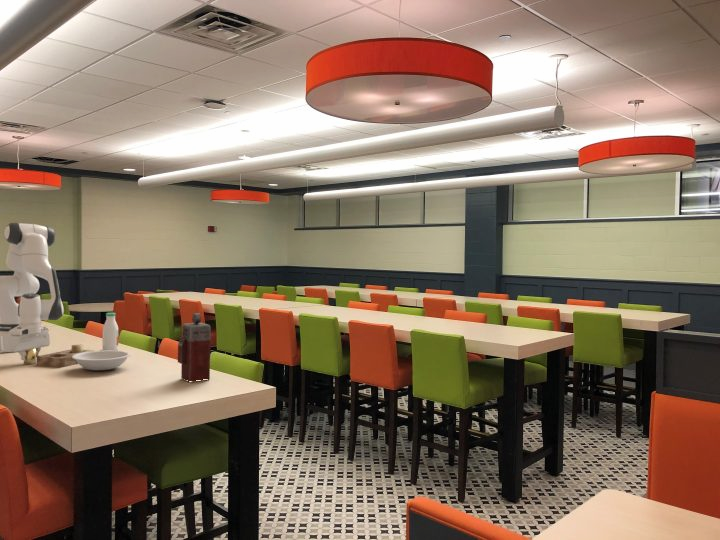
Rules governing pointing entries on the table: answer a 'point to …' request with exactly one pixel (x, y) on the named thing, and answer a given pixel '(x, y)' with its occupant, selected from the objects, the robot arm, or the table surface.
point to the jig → (61, 357)
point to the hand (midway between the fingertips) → (29, 358)
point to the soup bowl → (101, 359)
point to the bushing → (30, 357)
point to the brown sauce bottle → (195, 350)
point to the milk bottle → (110, 333)
